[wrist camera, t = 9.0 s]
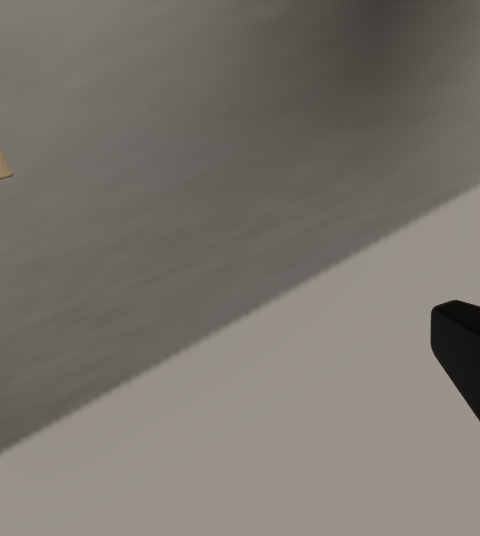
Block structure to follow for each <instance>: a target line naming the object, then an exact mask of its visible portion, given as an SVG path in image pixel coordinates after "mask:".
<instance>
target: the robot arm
mask: <svg viewBox="0 0 480 536" xmlns="http://www.w3.org/2000/svg"><path fill="white" fill-rule="evenodd" d="M431 348H432V351H433V353H434V355H435V357H436V358H437V360H438V361H439V363H440V364H441V366H442V367H443V368H444V370H445V371H446V373H447V374H448V375H449V377H450V379H451V380H452V381H453V383H454V384H455V386H456V387H457V389H458V390H459V392H460V393H461V395H462V396H463V397H464V399H465V400H466V402H467V403H468V405H469V406H470V408H471V409H472V411H473V412H474V414H475V415H476V416H477V418H478V419H479V421H480V306H476V305H473V304H469V303H465V302H462V301H458V300H452V301H449V302H446V303H443V304H440V305H437V306H435V307H434V308H433V309H432V311H431Z"/></svg>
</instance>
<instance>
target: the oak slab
mask: <svg viewBox="0 0 480 536" xmlns="http://www.w3.org/2000/svg"><path fill="white" fill-rule="evenodd" d="M11 175H13V174H12V172H11V170H10V168H9V166H8V164H7V161H6V159H5V157H4V155H3V153H2V151H1V149H0V178H3V177H7V176H11Z"/></svg>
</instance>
